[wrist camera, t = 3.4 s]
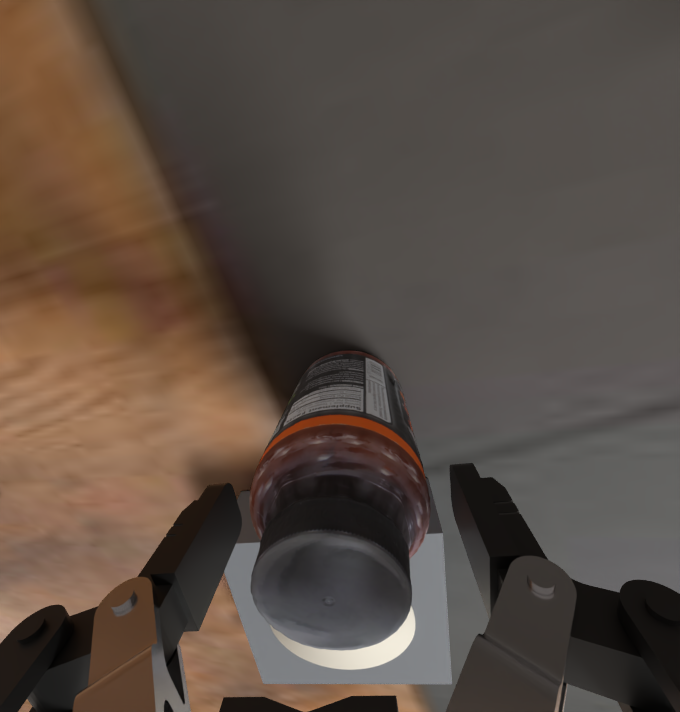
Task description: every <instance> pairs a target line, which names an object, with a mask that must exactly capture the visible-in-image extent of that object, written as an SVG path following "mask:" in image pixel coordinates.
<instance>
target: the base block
mask: <svg viewBox="0 0 680 712" xmlns="http://www.w3.org/2000/svg"><path fill="white" fill-rule="evenodd" d="M425 479H426V482H427V486H428V491H429V496H430V508H431V510H430V519H429V527H428V531H427V533H426V535H425V538H424V541H423V543H422V544H421V546H420V547H419V549H418V551H417V552H416V553H415V554H414V555H413V556H412V557H411V558H410V579H411V585H412V603H411V608H410V612H409V614H408V616H407V618H406V620H405V621H404V623H403V624H402V626H401V627H400V628H399V629H398V630H397V632H395V633H394V634H392V635H391V636H390V637H388V638H387V639H385V640H384V641H382V642H381V643H378V644H375V645H372V646H369V647H365V648H360V649H356V650H343V651H340V650H327V649H317V648H313V647H310V646H306V645H302V644H300V643H298V642H296V641H293V640H291V639H289V638H287V637H286V636H284V635H283V634H282V633H280V632H279V631H277V630H275V629H274V628H273V627H272V626H271V625H270V624H268V623H267V622H266V620H265V618H264V617H263V616H262V615H261V614H260V613H259V611H258V610H257V607H256V606H255V604H254V600H253V596H252V594H251V588H250V586H251V575H252V571H253V568H254V565H255V562H256V558H257V555H258V552H259V548H260V539H259V537H258V535H257V534H256V531H255V528H254V526H253V523H252V520H251V514H250V491H241V493H240V495H239V497H238V499H237V503H238V506H239V509H240V512H241V516H242V528H241V532H240V535H239V537H238V540H237V542H236V544H235V547H234V549H233V552H232V554H231V556H230V559H229V561H228V563H227V566H226V568H225V570H224V573H225V576H226V579H227V582H228V585H229V587H230V590H231V593H232V596H233V599H234V602H235V604H236V607H237V610H238V613H239V616H240V619H241V621H242V624H243V627H244V630H245V633H246V636H247V638H248V641H249V644H250V647H251V650H252V653H253V655H254V658H255V661H256V664H257V667H258V670H259V672H260V675H261V678H262V681H263V684H452V676H451V659H450V643H449V627H448V611H447V595H446V578H445V562H444V546H443V532H442V529H441V525H440V521H439V517H438V514H437V510H436V506H435V502H434V499H433V495H432V491H431V488H430V484H429V480H428V478H425Z"/></svg>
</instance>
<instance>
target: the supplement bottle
mask: <svg viewBox="0 0 680 712" xmlns="http://www.w3.org/2000/svg"><path fill="white" fill-rule="evenodd" d="M430 510H431V508H430V496H429V491H428V486H427V482H426V479H425V474H424V470H423V464H422V461H421V459H420V454H419V451H418V447H417V443H416V440H415V437H414V433H413V430H412V426H411V422H410V418H409V414H408V410H407V407H406V402H405V399H404V394H403V392H402V389H401V386H400V384H399V382H398V380H397V378H396V376H395V375H394V373H393V372H392V370H391V369H390V368H389V367H388V366H387V365H386V364H385V363H384V362H382V361H381V360H379V359H377V358H376V357H374V356H372V355H369V354H367V353H364V352H360V351H338V352H333V353H330V354H328V355H325V356H323V357H321V358H320V359H318V360H317V361H315V362H314V363H313V364H312V365H311V366H310V367H309V368H308V369H307V370H306V372H305V373H304V374H303V376H302V377H301V379H300V380H299V382H298V385H297V387H296V388H295V390H294V393H293V395H292V397H291V399H290V401H289V403H288V405H287V407H286V409H285V411H284V413H283V415H282V417H281V419H280V421H279V423H278V425H277V427H276V429H275V431H274V433H273V435H272V438H271V440H270V442H269V444H268V446H267V447H266V449H265V451H264V454H263V456H262V458H261V460H260V463H259V465H258V467H257V469H256V472H255V475H254V478H253V481H252V485H251V489H250V514H251V520H252V523H253V526H254V528H255V531H256V534H257V535H258V537H259V539H260V548H259V552H258V555H257V558H256V562H255V565H254V568H253V571H252V575H251V586H250V588H251V594H252V596H253V600H254V604H255V606H256V607H257V610H258V611H259V613H260V614H261V615H262V616H263V617H264V618H265V620H266V622H267V623H268V624H270V625H271V626H272V627H273V628H274V629H275V630H277V631H279V632H280V633H282V634H283V635H284V636H286V637H287V638H289V639H291V640H293V641H296V642H298V643H300V644H302V645H306V646H310V647H313V648H317V649H327V650H340V651H343V650H356V649H360V648H365V647H369V646H372V645H375V644H378V643H381V642H382V641H384V640H385V639H387V638H388V637H390V636H391V635H392V634H394V633H395V632H397V630H398V629H399V628H400V627H401V626H402V624H403V623H404V621H405V620H406V618H407V616H408V614H409V612H410V608H411V603H412V585H411V579H410V558H411V557H412V556H413V555H414V554H415V553H416V552H417V551H418V549H419V547H420V546H421V544H422V543H423V541H424V538H425V535H426V533H427V531H428V527H429V519H430Z"/></svg>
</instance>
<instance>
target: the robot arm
mask: <svg viewBox="0 0 680 712" xmlns="http://www.w3.org/2000/svg"><path fill="white" fill-rule="evenodd" d="M450 483H451V500H452V507H453V512H454V517H455V520H456V523H457V526H458V529H459V532H460V535H461V538H462V541H463V544H464V546H465V549H466V552H467V555H468V558H469V561H470V564H471V567H472V570H473V573H474V576H475V579H476V582H477V584H478V587H479V590H480V593H481V596H482V599H483V602H484V605H485V608H486V611H487V614H488V617H489V622H488V625H487V628H486V630H485V632H484V634H483V635H481V634H478V635H477V636H476V638H475V640H474V642H473V644H472V646H471V649H470V651H469V654H468V656H467V659H466V661H465V664H464V666H463V669H462V672H461V674H460V677H459V679H458V682H457V684H456V687H455V689H454V692H453V694H452V697H451V699H450V702H449V705H448V707H447V710H446V712H563V710H564V704H565V698H566V691H567V685H568V684H570V685H573V686H576V687H579V688H581V689H584V690H587V691H590V692H593V693H596V694H599V695H601V696H604V697H607V698H610V699H613V700H616V701H618V703H619V705H620V707H621V709H622V711H623V712H680V594H679V593H677V592H675V591H674V590H672V589H670V588H668V587H666V586H663V585H661V584H658V583H655V582H651V581H646V580H632V581H628V582H626V583H625V584H624V585H623V586H622V587H621V589H620V593H619V592H614V591H610V590H606V589H602V588H598V587H593V586H589V585H586V584H582V583H580V582H577V581H575V580H573V579H571V578H570V577H569V576H568V574H567V573H566V572H565V571H564V570H563V569H561V568H560V567H559V566H557V565H556V564H554V563H553V562H551V561H549V560H548V559H547V557H546V556H545V554H544V553H543V551H542V549H541V548H540V546H539V544H538V542H537V541H536V539H535V537H534V536H533V534H532V532H531V531H530V529H529V527H528V526H527V524H526V522H525V521H524V519H523V517H522V516H521V514H519V511H518V509H517V507H516V505H515V504H514V503H513V500H512V499H511V497H510V495H509V494H508V492H507V490H506V489H505V487H503V486H502V485H501V484H500V483H498V482H497V481H496V480H495V479H493V478H492V477H489V478H480V476H479V474H478V472H477V470H476V468H475V466H474V464H473V463H466V464H454V465H450ZM241 528H242V516H241V512H240V509H239V506H238V503H237V499H236V496H235V493H234V490H233V487H232V485H231V484H230V483H225V484H213V485H209V486H207V488H206V489H205V490H204V492H203V494H202V495H201V497H200V498H199V500H195V501H193V502H192V503H191V504H190V505H189V506H188V507H187V508H186V509H184V510H183V511H182V512H181V514H180V515H179V517H178V518H177V520H176V521H175V523H174V526H173V527H171V529H170V530H169V531H168V533H167V534H166V537H164V539H163V540H162V542H161V543H160V545H159V546H158V548H157V549H156V551H155V552H154V553H153V555H152V556H151V558H150V559H149V561H148V562H147V564H146V565H145V567H144V568H143V570H142V571H141V573H140V574H139V575H138V577H136V578H132V579H129V580H127V581H125V582H123V583H122V584H120V585H118V586H117V587H116V588H114V589H113V590H112V591H111V592H110V593H109V594H108V595H107V596H106V597H105V598H104V599H103V600H102V602H101V603H100V604H99V606H98V607H95V608H92V609H89V610H86V611H84V612H81V613H78V614H75V615H72V616H69V615H68V613H67V611H66V609H65V608H64V607H63V606H62V605H51V606H48V607H45V608H43V609H41V610H39V611H37V612H35V613H34V614H32V615H30V616H29V617H27V618H26V619H25V620H23V621H22V622H21V623H20V624H19V625H17V626H16V627H15V628H14V629H13V630H12V631H11V632H10V633H9V634H8V636H7V637H6V638H5V639H4V640H3V641H2V643H1V644H0V712H18V711H19V709H20V708H21V706H22V705H23V704H24V702H25V701H26V699H28V701H29V702H30V703H31V705H32V706H33V707H32V708H31V710H30V711H29V712H191V710H190V704H189V698H188V691H187V685H186V679H185V672H184V666H183V660H182V653H181V648H180V645H179V640H180V638H181V636H182V634H183V632H187V631H199V629H200V627H201V624H202V622H203V620H204V617H205V615H206V612H207V610H208V608H209V605H210V603H211V601H212V598H213V596H214V594H215V591H216V589H217V587H218V584H219V582H220V580H221V577H222V575H223V573H224V570H225V568H226V566H227V563H228V561H229V559H230V556H231V554H232V552H233V549H234V547H235V544H236V542H237V540H238V537H239V535H240V532H241ZM219 712H302V711H299V710H296V709H294V708H291V707H289V706H286V705H283V704H281V703H278V702H276V701H273V700H270V699H268V698H265V697H224V698H223V701H222V705H221V708H220V711H219ZM309 712H398V706H397V699H396V696H351V697H348V698H345V699H342V700H340V701H337V702H334V703H331V704H329V705H326V706H323V707H320V708H317V709H315V710H312V711H309Z"/></svg>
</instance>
